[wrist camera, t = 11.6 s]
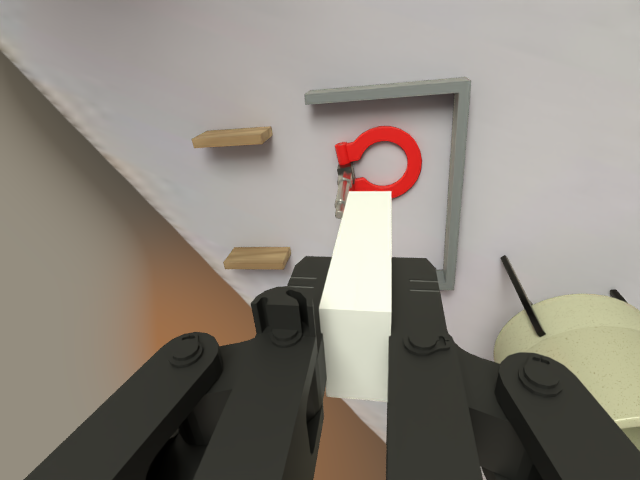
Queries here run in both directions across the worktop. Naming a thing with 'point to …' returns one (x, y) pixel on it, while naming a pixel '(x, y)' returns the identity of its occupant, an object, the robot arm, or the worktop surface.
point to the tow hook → (354, 153)
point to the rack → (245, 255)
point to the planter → (584, 346)
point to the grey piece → (457, 144)
